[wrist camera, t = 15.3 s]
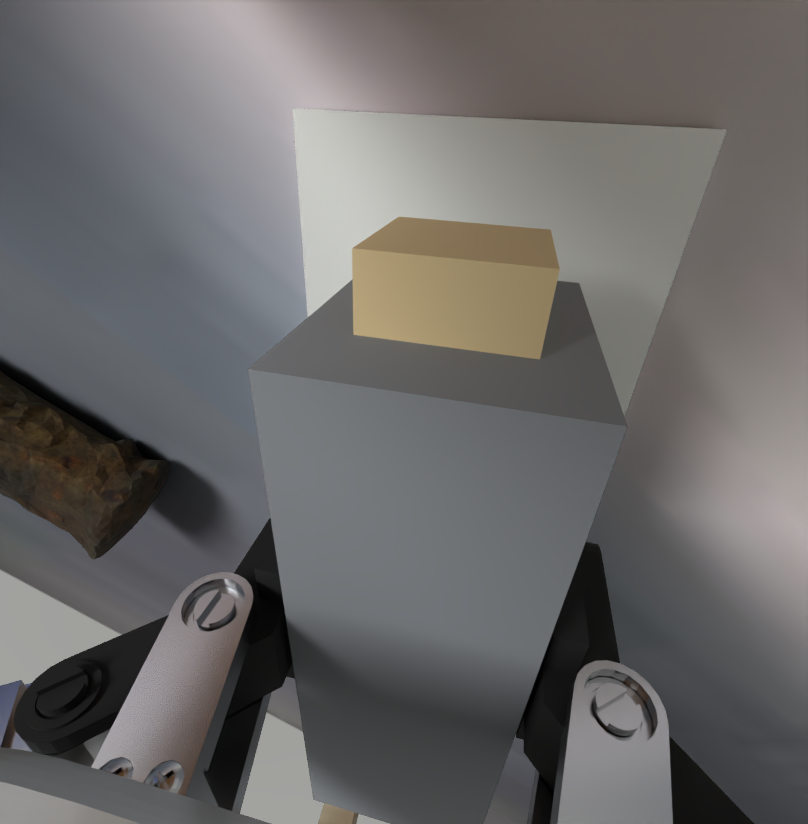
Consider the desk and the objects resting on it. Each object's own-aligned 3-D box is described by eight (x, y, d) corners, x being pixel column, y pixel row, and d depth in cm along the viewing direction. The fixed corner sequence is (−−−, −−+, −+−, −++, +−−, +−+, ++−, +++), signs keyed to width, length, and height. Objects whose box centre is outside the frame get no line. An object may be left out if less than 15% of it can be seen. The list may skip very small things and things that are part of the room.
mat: (331, 563, 19) (326, 573, 19) (301, 109, 11) (292, 108, 10) (550, 610, 18) (550, 622, 18) (718, 129, 9) (727, 129, 9)
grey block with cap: (370, 621, 16) (313, 799, 11) (373, 201, 9) (232, 268, 5) (488, 649, 15) (473, 849, 11) (594, 220, 8) (667, 317, 4)
